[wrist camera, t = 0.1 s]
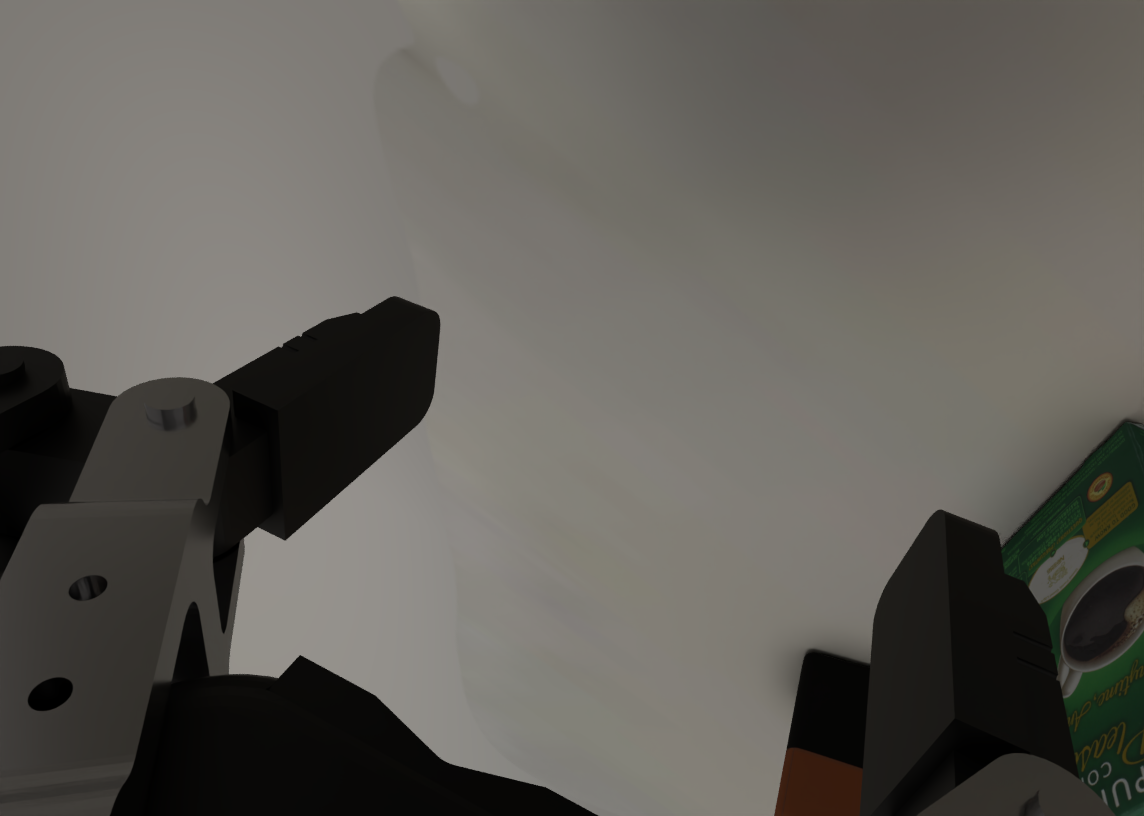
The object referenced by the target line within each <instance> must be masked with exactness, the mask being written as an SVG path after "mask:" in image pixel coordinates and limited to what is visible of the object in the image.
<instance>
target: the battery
mask: <svg viewBox="0 0 1144 816" xmlns="http://www.w3.org/2000/svg"><path fill="white" fill-rule="evenodd" d="M869 676H870V668H868V667H864V666H861V665H857V664H854V663H850V662H847V661H843V660H839V659H836V658H832V657H829V656H825V655H821V654H817V653H808V654H807V655H806V656H805V657H804V660H803V664H802V669H801V674H800V680H799V685H798V691H797V696H796V701H795V707H794V712H793V718H792V723H791V728H790V734H789V739H788V744H787V750H786V755H785V761H784V766H783V771H782V777H781V782H780V788H779V793H778V798H777V804H776V809H775V815H774V816H859V815H860V801H861V787H862V774H863V760H864V746H865V732H866V718H867V704H868V690H869Z"/></svg>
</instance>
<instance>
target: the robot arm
mask: <svg viewBox="0 0 1144 816" xmlns="http://www.w3.org/2000/svg"><path fill="white" fill-rule="evenodd" d="M439 335H440V318H439V315H438V314H437V312H435V311H433V310H430V309H428V308H425V307H423V306H420V305H417V304H414V303H412V302H410V301H407V300H405V299H402V298H399V297H396V296H393V297H390V298H388V299H386V300H384V301H383V302H381V303H379V304H378V305H376V306H374V307H373V308H371V309H369V310H367V311H366V312H364V313H362V314H360V313H352V314H349V315H344V316H340V317H336V318H331V319H327V320H325V321H323V322H321V323H320V324H318V325H316V326H314V327H312V328H311V329H309V330H307V331H305V332H303V334H302V336H301V337H300V336H296V337H295V338H293V339H291V340H289V341H287V342H286V343H284V344H283V347H282V348H281V347H277V348H275V349H273V350H271V351H270V352H268V353H266V354H264V355H263V356H261V357H259V358H257V359H255V360H254V361H252V362H250V363H248V364H247V365H245V366H243V367H242V368H240V369H238V370H236V371H234V372H232V373H231V374H229V375H227V376H225V377H223V378H222V379H220V380H218V381H216V382H215V383H213V384H212V383H209V382H207V381H203V380H199V379H193V378H181V377H177V378H164V379H157V380H152V381H148V382H145V383H142V384H139V385H136V386H134V387H131V388H130V389H128V390H126V391H124V392H123V393H122V394H120V395H119V396H118V397H117V396H111V395H106V394H100V393H95V392H89V391H84V390H78V389H72V388H69V385H68V381H67V377H66V373H65V369H64V365H63V362H62V361H61V360H60V358H58V357H57V356H56V355H55V354H52V353H51V352H49V351H45V350H42V349H38V348H33V347H24V346H2V347H0V816H598V815H596V814H594V813H592V812H590V811H589V810H587V809H585V808H583V807H581V806H579V805H577V804H576V803H574V802H572V801H570V800H568V799H566V798H564V797H563V796H561V795H559V794H557V793H555V792H553V791H551V790H550V789H548V788H546V787H542V786H538V785H534V784H529V783H525V782H521V781H517V780H513V779H509V778H505V777H500V776H496V775H492V774H488V773H484V772H480V771H475V770H472V769H468V768H464V767H459V766H455V765H452V764H449V763H447V762H445V761H443V760H442V759H440V758H439V757H438V756H437V755H436V754H435V753H434V752H433V751H432V750H431V749H429V747H428V746H426V745H425V744H424V743H423V742H422V741H421V740H420V739H419V738H418V737H417V736H416V735H415V734H414V733H413V732H412V731H411V730H410V729H409V728H408V727H407V726H406V725H405V724H404V723H403V722H402V721H401V720H400V719H399V718H398V717H397V716H396V715H395V714H394V713H393V712H392V711H391V710H390V709H389V708H388V707H386V706H385V705H384V704H383V703H382V702H381V701H380V700H379V699H378V698H377V697H376V696H375V695H373V694H371V693H370V692H368V691H366V690H364V689H362V688H360V687H358V686H357V685H354V684H353V683H351V682H349V681H347V680H345V679H344V678H342V677H340V676H338V675H336V674H334V673H332V672H331V671H329V670H327V669H325V668H323V667H321V666H319V665H317V664H316V663H314V662H312V661H310V660H308V659H306V658H304V657H303V656H301V655H300V656H299V657H298V658H297V659H296V660H295V661H294V662H293V663H292V664H291V665H290V666H289V668H288V669H287V670H286V671H285V672H284V673H283V674H282V675H281V676H280V677H279V678H274V677H269V676H259V675H250V674H229V657H230V648H231V640H232V634H233V627H234V620H235V613H236V607H237V600H238V593H239V586H240V579H241V573H242V566H243V558H244V550H245V549H244V548H245V546H244V537H245V536H247V535H248V534H249V533H250V532H252V531H253V530H254V529H255V528H257V527H259V528H261V529H263V530H265V531H267V532H269V533H271V534H273V535H275V536H277V537H279V538H281V539H283V540H286V539H288V538H289V537H290V536H291V535H292V534H293V533H294V532H296V530H298V529H299V528H300V527H301V526H302V525H304V524H305V523H306V522H307V521H308V520H309V519H310V518H312V517H313V516H314V515H315V514H316V513H317V512H318V511H320V510H321V509H322V508H323V507H324V506H325V505H326V504H328V503H329V502H330V501H331V500H332V499H333V498H334V497H336V496H337V495H338V494H339V493H340V492H341V491H342V490H344V489H345V488H346V487H347V486H348V485H349V484H350V483H351V482H353V481H354V480H355V479H356V478H357V477H358V476H359V475H361V474H362V473H363V472H364V471H365V470H366V469H368V468H369V467H370V466H371V465H372V464H373V463H374V462H376V461H377V460H378V459H379V458H380V457H381V456H382V455H384V454H385V453H386V452H387V451H388V450H389V449H391V448H392V447H393V446H394V445H395V444H396V443H397V442H399V441H400V440H401V439H402V438H403V437H404V436H405V435H406V434H408V433H409V432H410V431H411V430H412V429H413V428H415V427H416V426H417V425H418V424H419V423H420V422H421V420H422V419H423V418H424V416H425V414H426V413H427V411H428V409H429V407H430V404H431V401H432V398H433V394H434V388H435V377H436V367H437V356H438V346H439ZM1052 648H1053V645H1052V640H1051V635H1050V630H1049V625H1048V620H1047V616H1046V614H1045V612H1044V611H1043V609H1042V608H1041V606H1040V605H1039V603H1038V602H1037V600H1036V598H1035V597H1034V595H1033V594H1032V592H1031V591H1030V589H1029V588H1028V586H1027V584H1026V583H1025V581H1022V580H1020V579H1017V578H1015V577H1012V576H1010V575H1007V574H1005V573H1004V566H1003V559H1002V552H1001V545H1000V539H999V535H998V533H997V532H996V531H995V530H992V529H990V528H987V527H985V526H982V525H980V524H977V523H974V522H972V521H969V520H967V519H964V518H962V517H959V516H956V515H954V514H951V513H949V512H946V511H944V510H937V511H936V512H935V513H934V514H933V515H932V516H931V517H930V518H929V520H928V521H927V522H926V524H925V526H924V527H923V529H922V530H921V532H920V533H919V535H918V536H917V538H916V539H915V541H914V542H913V544H912V546H911V547H910V549H909V550H908V552H907V553H906V555H905V556H904V558H903V559H902V561H901V563H900V564H899V566H898V567H897V569H896V570H895V572H894V573H893V575H892V576H891V578H890V579H889V581H888V583H887V584H886V586H885V588H884V590H883V592H882V595H881V597H880V600H879V602H878V605H877V609H876V612H875V617H874V622H873V635H872V649H871V662H870V676H869V690H868V704H867V718H866V732H865V746H864V760H863V774H862V787H861V801H860V815H859V816H1116V815H1115V814H1114V813H1113V812H1112V810H1111V809H1110V808H1109V807H1108V805H1107V804H1106V803H1105V802H1104V801H1103V800H1102V799H1101V798H1100V797H1099V796H1098V795H1097V794H1096V793H1095V792H1094V791H1093V790H1092V789H1091V788H1089V787H1088V786H1087V785H1086V784H1085V783H1084V782H1082V781H1081V780H1080V779H1079V774H1078V769H1077V764H1076V759H1075V754H1074V749H1073V744H1072V739H1071V734H1070V729H1069V724H1068V719H1067V714H1066V709H1065V705H1064V700H1063V695H1062V690H1061V685H1060V681H1058V680H1056V679H1057V676H1058V670H1057V665H1056V660H1055V655H1054V654H1053V653H1051V650H1052Z"/></svg>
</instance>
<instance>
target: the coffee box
mask: <svg viewBox="0 0 1144 816" xmlns="http://www.w3.org/2000/svg"><path fill="white" fill-rule="evenodd" d="M1001 552H1002V559H1003V566H1004V573H1005V574H1007V575H1010V576H1012V577H1015V578H1017V579H1020V580H1022V581H1025V583H1026V584H1027V586H1028V588H1029V589H1030V591H1031V592H1032V594H1033V595H1034V597H1035V598H1036V600H1037V602H1038V603H1039V605H1040V606H1041V608H1042V609H1043V611H1044V612H1045V614H1046V616H1047V620H1048V625H1049V630H1050V635H1051V640H1052V645H1053V648H1052V650H1051V653H1053V654H1054V655H1055V660H1056V665H1057V670H1058V676H1057V679H1056V680H1058V681H1060V685H1061V690H1062V695H1063V700H1064V705H1065V709H1066V714H1067V719H1068V724H1069V729H1070V734H1071V739H1072V744H1073V749H1074V754H1075V759H1076V764H1077V769H1078V774H1079V779H1080V780H1081V781H1082V782H1084V783H1085V784H1086V785H1087V786H1088V787H1089V788H1091V789H1092V790H1093V791H1094V792H1095V793H1096V794H1097V795H1098V796H1099V797H1100V798H1101V799H1102V800H1103V801H1104V802H1105V803H1106V804H1107V805H1108V807H1109V808H1110V809H1111V810H1112V812H1113V813H1114V814H1115V815H1116V816H1144V425H1142V424H1134V423H1131V422H1125V423H1124V424H1123V425H1122V426H1121V427H1120V428H1119V429H1118V430H1117V432H1116V433H1115V434H1114V435H1113V436H1112V437H1111V438H1110V439H1109V440H1108V441H1107V442H1106V443H1105V444H1104V445H1103V446H1102V447H1100V448H1099V449H1098V450H1097V451H1096V452H1094V453H1093V454H1092V455H1091V456H1090V457H1089V458H1088V459H1087V460H1086V462H1085V463H1084V465H1083V466H1082V468H1081V469H1080V470H1079V471H1078V472H1077V473H1076V474H1075V475H1074V476H1073V477H1072V478H1071V479H1070V481H1069V482H1068V483H1067V484H1066V485H1065V486H1063V487H1062V488H1061V489H1060V490H1059V492H1058V493H1057V494H1056V495H1055V496H1054V497H1052V498H1051V500H1050V501H1049V502H1047V503H1046V504H1045V506H1044V507H1043V508H1042V509H1041V510H1040V511H1039V512H1038V513H1037V514H1036V515H1035V516H1034V517H1033V518H1032V519H1031V520H1030V521H1029V522H1028V523H1027V524H1026V525H1025V526H1024V527H1022V528H1021V529H1020V531H1019V532H1018V533H1016V534H1015V536H1014V537H1013V538H1012V539H1011V540H1010V542H1009V543H1008V544H1007V545H1005V546H1004V547H1003V549H1001Z"/></svg>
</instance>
